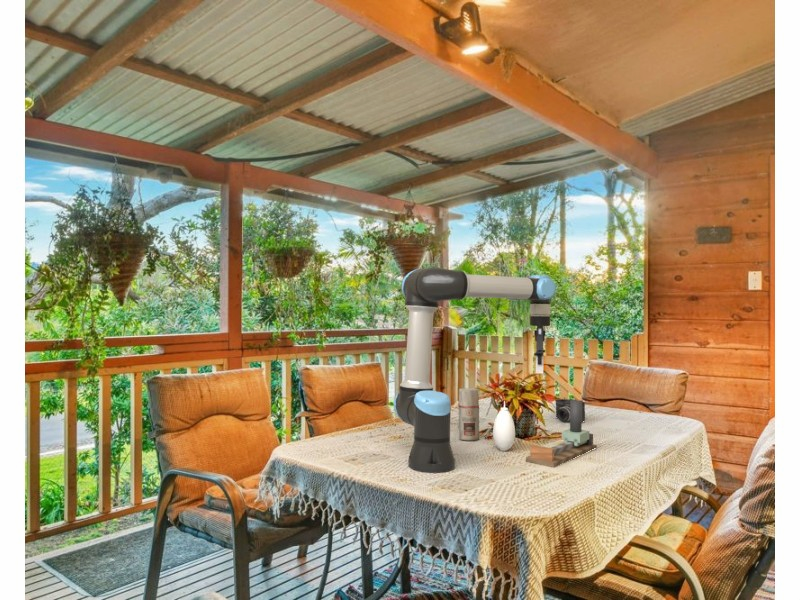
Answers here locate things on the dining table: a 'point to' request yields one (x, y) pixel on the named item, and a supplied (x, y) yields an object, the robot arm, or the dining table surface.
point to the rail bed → (563, 456)
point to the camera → (566, 409)
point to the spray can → (468, 414)
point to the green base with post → (575, 425)
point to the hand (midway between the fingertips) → (539, 371)
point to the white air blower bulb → (504, 430)
